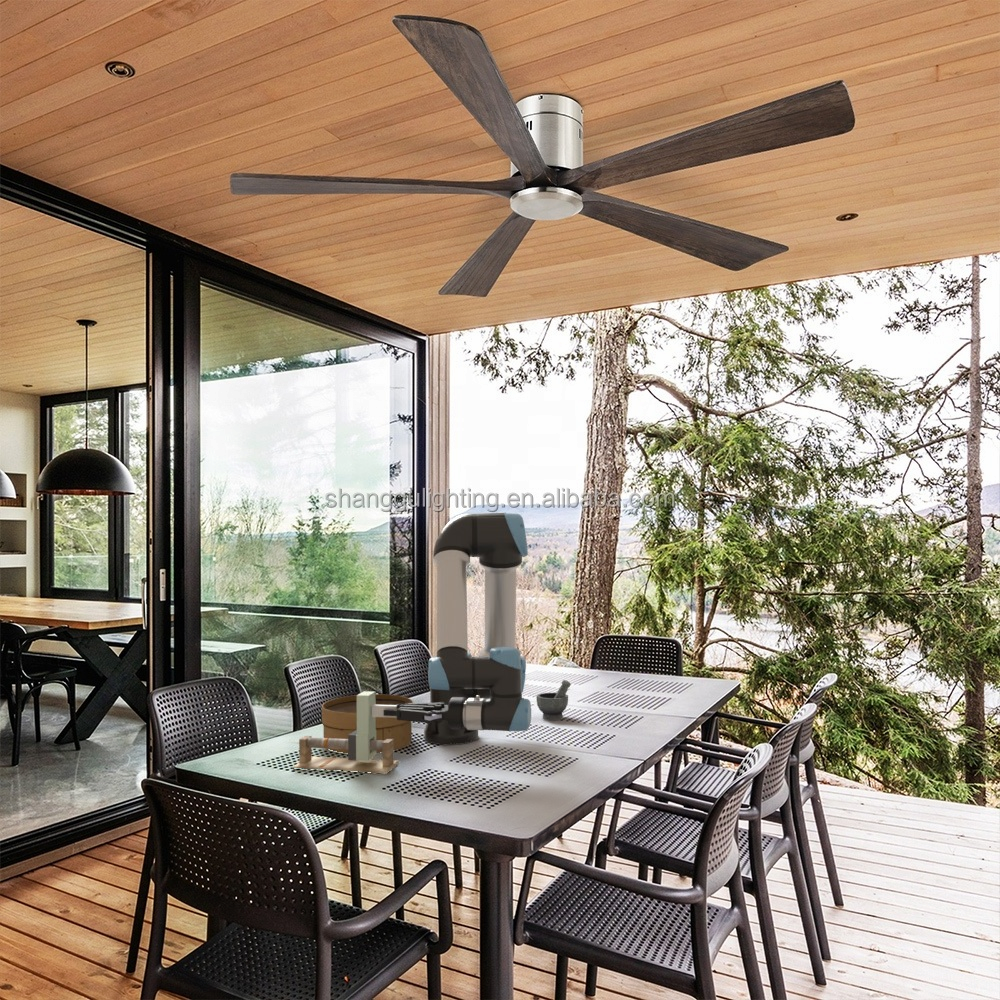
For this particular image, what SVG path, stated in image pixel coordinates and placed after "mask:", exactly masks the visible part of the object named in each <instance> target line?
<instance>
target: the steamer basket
mask: <svg viewBox="0 0 1000 1000" xmlns="http://www.w3.org/2000/svg"><path fill="white" fill-rule="evenodd" d="M357 695H358V694H356V695H355V694H354V695H346V696H340V697H336V698H332V699H329V700H327V701H325V702H323V703H322V704H321V723H322V726H323V738H333V739H348V735H349V734H351V733H352V732H354V731H355V730H357ZM375 697H376V704H377V705H397V704H400V705H402V704H403V705H405V703H414V701H413V700H412V699H411V698H409V697H405V696H402V695H396V694H395V695H394V694H387V693H386V694H384V693H383V694H382V693H381V694H380V693H379V694H377V693H375ZM412 737H413V736H412V721H403V720H397V718H392V717H376V740H386V739H394V752H395V751H397V750H401V749H404V748H406V747H408V746H409V745H410V744H412ZM330 750H333V751H337V752H343V753H348V749H330ZM380 752H382V751H377V750H376V754H381V753H380Z"/></svg>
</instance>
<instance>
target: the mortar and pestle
mask: <svg viewBox="0 0 1000 1000" xmlns="http://www.w3.org/2000/svg"><path fill="white" fill-rule="evenodd" d="M571 685H572V684H571V682H570V681H568V680H566V679H563V680H562V682H561V685H560V687H559V688H558V690H557V692H542V693H538V694H537V695H536V706H537V707H538V709H539V710H540V712H541V713H542V719H543V720H545V721H559V720H560V721H561V720H562V719H564V718H563V717H564V716H563V712H565V710H566V708H567V706H568V704H569V703H568V702H569V695H568V694H567V692H568V690H569V688H570V687H571Z"/></svg>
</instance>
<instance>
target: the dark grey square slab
mask: <svg viewBox="0 0 1000 1000" xmlns="http://www.w3.org/2000/svg"><path fill="white" fill-rule="evenodd" d="M356 735H357V730H355V731H354V732H352V733H351V734H349V735H348V754H347V755H348V757H347V758H348V760H356Z"/></svg>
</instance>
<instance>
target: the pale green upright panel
mask: <svg viewBox="0 0 1000 1000" xmlns="http://www.w3.org/2000/svg"><path fill="white" fill-rule="evenodd" d="M375 694H376V691H365V690H363V691H362V692H360V693H358V694H356V695H357V735H356V760H358V761H368V760H370V759H373V758H374V757H375V756H376V755H377V753H376V750H370V740H376V717H372V705H374V704H376V697H375Z"/></svg>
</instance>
